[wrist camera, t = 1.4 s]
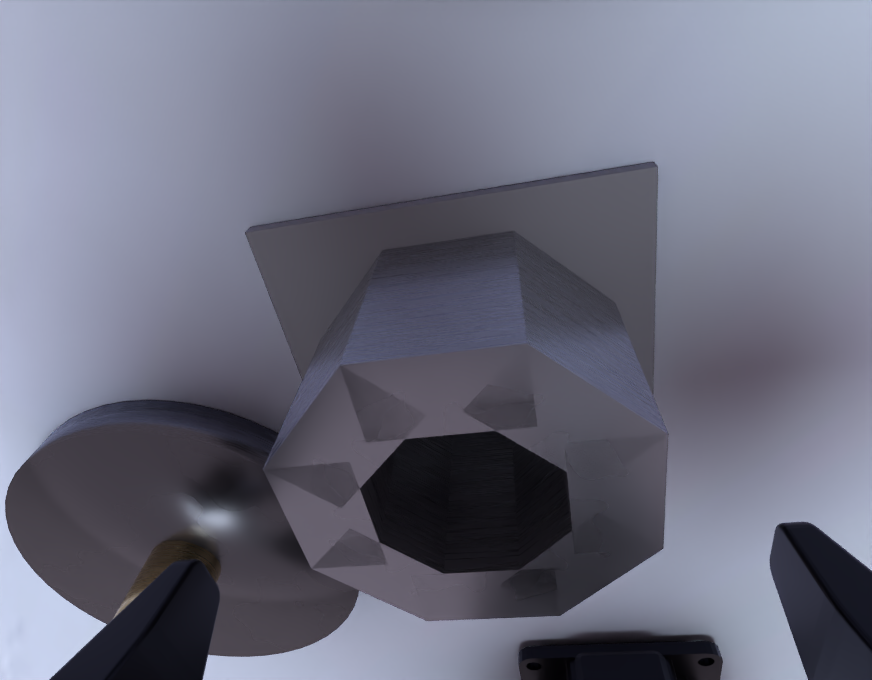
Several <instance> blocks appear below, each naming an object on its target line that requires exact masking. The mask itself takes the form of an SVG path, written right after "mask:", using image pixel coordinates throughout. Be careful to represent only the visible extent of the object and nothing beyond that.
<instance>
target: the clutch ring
mask: <svg viewBox="0 0 872 680" xmlns="http://www.w3.org/2000/svg"><path fill="white" fill-rule="evenodd" d="M667 449H668V432H667V430H666V427H665V425H664V422H663V420H662V417H661V415H660V412H659V410H658V407H657V405H656V402H655V400H654V397H653V395H652V392H651V390H650V387H649V385H648V382H647V380H646V378H645V375H644V373H643V370H642V368H641V365H640V363H639V360H638V358H637V355H636V353H635V350H634V348H633V345H632V343H631V340H630V338H629V335H628V333H627V330H626V328H625V325H624V323H623V320H622V318H621V315H620V313H619V310H618V308H617V305H616V303H615V301H613V300H612V299H610V298H609V297H607V296H606V295H605V294H603V293H602V292H600V291H599V290H598V289H596V288H595V287H593V286H592V285H590V284H589V283H588V282H586V281H585V280H583V279H582V278H580V277H579V276H578V275H576V274H575V273H573V272H572V271H570V270H569V269H568V268H566V267H565V266H563V265H562V264H561V263H559V262H558V261H556V260H555V259H553V258H552V257H551V256H549V255H548V254H546V253H545V252H543V251H542V250H541V249H539V248H538V247H536V246H535V245H533V244H532V243H531V242H529V241H528V240H526V239H525V238H524V237H522V236H521V235H519V234H518V233H516V232H515V231H514V230H513V231H507V232H501V233H494V234H487V235H480V236H474V237H467V238H460V239H453V240H447V241H440V242H433V243H427V244H420V245H413V246H406V247H400V248H393V249H386V250H382V251H381V252H380V254H379V255H378V257H377V258H376V260H375V261H374V263H373V264H372V266H371V267H370V268H369V270H368V271H367V273H366V274H365V276H364V277H363V279H362V280H361V282H360V283H359V284H358V286H357V287H356V289H355V290H354V292H353V293H352V295H351V296H350V297H349V299H348V300H347V302H346V303H345V305H344V306H343V308H342V309H341V311H340V312H339V313H338V315H337V316H336V318H335V319H334V321H333V322H332V324H331V325H330V326H329V328H328V329H327V331H326V332H325V334H324V335H323V337H322V338H321V340H320V342H319V344H318V347H317V349H316V351H315V353H314V356H313V358H312V360H311V362H310V365H309V367H308V369H307V371H306V373H305V376H304V378H303V380H302V382H301V385H300V387H299V389H298V391H297V394H296V396H295V398H294V400H293V403H292V405H291V407H290V409H289V412H288V414H287V416H286V418H285V421H284V423H283V425H282V427H281V430H280V432H279V434H278V436H277V439H276V441H275V443H274V445H273V448H272V450H271V452H270V454H269V457H268V459H267V461H266V463H265V466H264V468H263V471H264V473H265V475H266V477H267V479H268V481H269V483H270V485H271V487H272V489H273V491H274V493H275V495H276V497H277V499H278V501H279V503H280V505H281V508H282V510H283V512H284V514H285V516H286V518H287V520H288V522H289V524H290V526H291V528H292V530H293V532H294V534H295V536H296V538H297V540H298V542H299V544H300V546H301V548H302V551H303V553H304V555H305V557H306V559H307V561H308V563H309V565H310V567H311V569H313V570H315V571H318V572H320V573H322V574H324V575H327V576H329V577H331V578H333V579H335V580H338V581H340V582H342V583H344V584H346V585H349V586H351V587H353V588H355V589H357V590H360V591H362V592H364V593H366V594H369V595H371V596H373V597H375V598H377V599H380V600H382V601H384V602H386V603H388V604H391V605H393V606H395V607H397V608H399V609H402V610H404V611H406V612H408V613H410V614H413V615H415V616H417V617H419V618H422V619H424V620H426V621H439V620H464V619H489V618H514V617H540V616H560V615H562V614H563V613H565V612H567V611H568V610H570V609H571V608H573V607H574V606H576V605H577V604H579V603H580V602H582V601H583V600H585V599H587V598H588V597H590V596H591V595H593V594H594V593H596V592H597V591H599V590H600V589H602V588H603V587H605V586H607V585H608V584H610V583H611V582H613V581H614V580H616V579H617V578H619V577H620V576H622V575H624V574H625V573H627V572H628V571H630V570H631V569H633V568H634V567H636V566H637V565H639V564H640V563H642V562H644V561H645V560H647V559H648V558H650V557H651V556H653V555H654V554H656V553H657V552H659V551H660V550H662V549H663V544H664V520H665V496H666V473H667Z"/></svg>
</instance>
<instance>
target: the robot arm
mask: <svg viewBox="0 0 872 680" xmlns="http://www.w3.org/2000/svg"><path fill="white" fill-rule="evenodd" d="M770 569H771V573H772V577H773V580H774V583H775V586H776V588H777V591H778V594H779V597H780V600H781V603H782V606H783V609H784V612H785V614H786V617H787V620H788V623H789V626H790V629H791V632H792V635H793V638H794V641H795V643H796V646H797V649H798V652H799V655H800V658H801V661H802V664H803V667H804V669H805V672H806V675H807V678H808V680H872V571H871V570H870V569H869V568H867V567H866V566H865V565H864V564H862V563H861V562H860V561H859V560H857V559H856V558H855V557H854V556H852V555H851V554H850V553H849V552H847V551H846V550H845V549H844V548H842V547H841V546H840V545H839V544H837V543H836V542H835V541H834V540H832V539H831V538H830V537H829V536H827V535H826V534H825V533H824V532H822V531H821V530H820V529H819V528H817V527H816V526H815V525H813V524H811V523H808V522H791V523H781V524H779V525H778V526H777V527H776V530H775V534H774V539H773V544H772V549H771V554H770ZM219 603H220V591H219V587H218V585H217V584H216V582H215V581H214V579H213V577H212V576H211V574H210V573H209V571H208V570H207V568H206V566H205V565H204V563H203V562H202V561H200V560H198V559H188V560H178V561H175V562H173V563H172V564H171V565H169V566H168V567H167V568H166V569H165V570H164V571H163V572H162V573H161V574H160V575H159V576H158V577H157V578H156V579H155V580H154V581H153V582H152V583H150V584H149V585H148V586H147V587H146V588H145V589H144V590H143V591H142V592H141V593H140V594H139V595H138V596H137V597H136V598H135V599H134V600H133V601H132V602H130V603H129V604H128V605H127V606H126V607H125V608H124V609H123V610H122V611H121V612H120V613H119V614H118V615H117V616H116V617H115V618H114V619H113V620H112V621H111V622H109V623H108V624H107V625H106V626H105V627H104V628H103V629H102V630H101V631H100V632H99V633H98V634H97V635H96V636H95V637H94V638H93V639H92V640H91V641H89V642H88V643H87V644H86V645H85V646H84V647H83V648H82V649H81V650H80V651H79V652H78V653H77V654H76V655H75V656H74V657H73V658H72V659H71V660H69V661H68V662H67V663H66V664H65V665H64V666H63V667H62V668H61V669H60V670H59V671H58V672H57V673H56V674H55V675H54V676H53V677H52V678H51V679H50V680H203V675H204V671H205V666H206V662H207V657H208V653H209V648H210V644H211V639H212V634H213V630H214V625H215V621H216V616H217V612H218V607H219ZM518 658H519V669H520V674H521V679H522V680H720V676H721V670H722V663H723V660H722V657H721V654H720V651H719V648H718V646H717V645H716V644H715V643H712V642H709V641H690V642H658V643H626V644H594V645H562V646H531V647H525V648H523V649H521V650H520V651H519V654H518Z"/></svg>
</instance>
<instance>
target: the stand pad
mask: <svg viewBox="0 0 872 680" xmlns="http://www.w3.org/2000/svg"><path fill="white" fill-rule="evenodd" d="M657 193H658V166H657V165H656V164H655V163H654V162H651V163H645V164H639V165H632V166H626V167H620V168H614V169H608V170H601V171H595V172H589V173H583V174H577V175H571V176H564V177H558V178H552V179H546V180H540V181H533V182H527V183H521V184H515V185H509V186H503V187H496V188H490V189H484V190H478V191H472V192H465V193H459V194H453V195H447V196H441V197H435V198H428V199H422V200H416V201H410V202H404V203H397V204H391V205H385V206H379V207H373V208H366V209H360V210H354V211H348V212H342V213H336V214H329V215H323V216H317V217H311V218H305V219H298V220H292V221H286V222H280V223H274V224H268V225H261V226H255V227H250V228H249V229H248V230H247V231H246V232H245V234H246V237H247V239H248V242H249V244H250V247H251V250H252V252H253V255H254V257H255V260H256V262H257V265H258V267H259V270H260V273H261V275H262V278H263V280H264V283H265V285H266V288H267V291H268V293H269V296H270V298H271V301H272V303H273V306H274V308H275V311H276V314H277V316H278V319H279V321H280V324H281V326H282V329H283V332H284V334H285V337H286V339H287V342H288V344H289V347H290V349H291V352H292V355H293V357H294V360H295V362H296V365H297V367H298V370H299V373H300V375H301V378H302V380H303V378H304V376H305V373H306V371H307V369H308V367H309V365H310V362H311V360H312V358H313V356H314V353H315V351H316V349H317V347H318V344H319V342H320V340H321V338H322V337H323V335H324V334H325V332H326V331H327V329H328V328H329V326H330V325H331V324H332V322H333V321H334V319H335V318H336V316H337V315H338V313H339V312H340V311H341V309H342V308H343V306H344V305H345V303H346V302H347V300H348V299H349V297H350V296H351V295H352V293H353V292H354V290H355V289H356V287H357V286H358V284H359V283H360V282H361V280H362V279H363V277H364V276H365V274H366V273H367V271H368V270H369V268H370V267H371V266H372V264H373V263H374V261H375V260H376V258H377V257H378V255H379V254H380V252H381V251H382V250H386V249H393V248H400V247H406V246H413V245H420V244H427V243H433V242H440V241H447V240H453V239H460V238H467V237H474V236H480V235H487V234H494V233H501V232H507V231H513V230H514V231H515V232H516V233H518V234H519V235H521V236H522V237H524V238H525V239H526V240H528V241H529V242H531V243H532V244H533V245H535V246H536V247H538V248H539V249H541V250H542V251H543V252H545V253H546V254H548V255H549V256H551V257H552V258H553V259H555V260H556V261H558V262H559V263H561V264H562V265H563V266H565V267H566V268H568V269H569V270H570V271H572V272H573V273H575V274H576V275H578V276H579V277H580V278H582V279H583V280H585V281H586V282H588V283H589V284H590V285H592V286H593V287H595V288H596V289H598V290H599V291H600V292H602V293H603V294H605V295H606V296H607V297H609V298H610V299H612V300H613V301H615V303H616V305H617V308H618V310H619V313H620V315H621V318H622V320H623V323H624V325H625V328H626V330H627V333H628V335H629V338H630V340H631V343H632V345H633V348H634V350H635V353H636V355H637V358H638V360H639V363H640V365H641V368H642V370H643V373H644V375H645V378H646V380H647V382H648V385H649V387H650V390H651V392H652V395H653V375H654V330H655V284H656V239H657Z"/></svg>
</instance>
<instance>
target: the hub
mask: <svg viewBox="0 0 872 680" xmlns="http://www.w3.org/2000/svg"><path fill="white" fill-rule="evenodd" d="M277 436H278V434H277V433H275V432H273V431H271V430H269V429H267V428H265V427H263V426H260V425H258V424H256V423H254V422H252V421H249V420H247V419H244V418H241V417H238V416H235V415H232V414H229V413H227V412H223V411H219V410H215V409H211V408H207V407H203V406H199V405H193V404H186V403H180V402H171V401H153V400H146V401H128V402H121V403H115V404H109V405H104V406H101V407H98V408H95V409H92V410H88V411H85V412H83V413H81V414H79V415H77V416H75V417H73V418H71V419H69V420H68V421H67V422H65V423H64V424H63V425H61V426H60V427H59V428H57V429H56V430H55V431H54V432H53V433H52V434H51V435H50V436H49V437H48V438H47V439H46V440H45V442H44V443H43V444H42V445H41V446H40V447H39V448H38V449H37V450H36V451H35V452H34V453H33V454H32V455H31V456H30V458H29V459H28V460H27V461H26V462H25V463H24V464H23V465H22V466H21V468H20V469H19V470H18V471H17V472H16V473H15V475H14V477H13V479H12V481H11V483H10V485H9V487H8V491H7V495H6V500H5V512H6V519H7V524H8V528H9V531H10V533H11V536H12V538H13V540H14V543H15V545H16V546H17V548H18V550H19V551H20V553H21V554H22V556H23V558H24V559H25V560H26V562H27V563H28V564H29V565H30V567H31V568H32V569H33V570H34V571H35V573H36V574H37V575H38V576H39V577H40V578H41V579H42V580H43V581H44V582H45V583H46V584H48V585H49V586H50V587H51V588H52V589H53V590H55V591H56V592H57V593H58V594H59V595H61V596H62V597H63V598H65V599H66V600H67V601H69V602H70V603H72V604H73V605H75V606H76V607H78V608H79V609H81V610H82V611H84V612H86V613H87V614H89V615H91V616H93V617H94V618H96V619H98V620H100V621H102V622H104V623H106V624H108V623H109V622H111V621H112V620H113V619H114V618H115V617H116V616H117V615H118V614H119V613H120V612H121V611H122V610H123V609H124V608H125V607H126V606H127V605H128V604H129V603H130V602H132V601H133V600H134V599H135V598H136V597H137V596H138V595H139V594H140V593H141V592H142V591H143V590H144V589H145V588H146V587H147V586H148V585H149V584H150V583H152V582H153V581H154V580H155V579H156V578H157V577H158V576H159V575H160V574H161V573H162V572H163V571H164V570H165V569H166V568H167V567H168V566H169V565H171V564H172V563H173V562H175V561H178V560H188V559H198V560H200V561H202V562H203V563H204V565H205V566H206V568H207V570H208V571H209V573H210V574H211V576H212V577H213V579H214V581H215V582H216V584H217V585H218V587H219V591H220V603H219V607H218V612H217V616H216V621H215V625H214V630H213V634H212V639H211V644H210V648H209V653H208V655H218V656H237V657H250V656H264V655H272V654H279V653H284V652H288V651H292V650H296V649H300V648H303V647H305V646H308V645H310V644H313V643H315V642H317V641H319V640H321V639H323V638H325V637H326V636H328V635H329V634H331V633H332V632H333V631H335V630H336V629H337V628H338V627H339V626H340V625H341V624H342V623H343V622H344V621H345V620H346V619H347V618H348V616H349V614H350V613H351V611H352V610H353V608H354V605H355V603H356V600H357V597H358V593H359V590H357V589H355V588H353V587H351V586H349V585H346V584H344V583H342V582H340V581H338V580H335V579H333V578H331V577H329V576H327V575H324V574H322V573H320V572H318V571H315V570H313V569H311V567H310V565H309V563H308V561H307V559H306V557H305V555H304V553H303V551H302V548H301V546H300V544H299V542H298V540H297V538H296V536H295V534H294V532H293V530H292V528H291V526H290V524H289V522H288V520H287V518H286V516H285V514H284V512H283V510H282V508H281V505H280V503H279V501H278V499H277V497H276V495H275V493H274V491H273V489H272V487H271V485H270V483H269V481H268V479H267V477H266V475H265V473H264V471H263V468H264V466H265V463H266V461H267V459H268V457H269V454H270V452H271V450H272V448H273V445H274V443H275V441H276V439H277Z"/></svg>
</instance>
